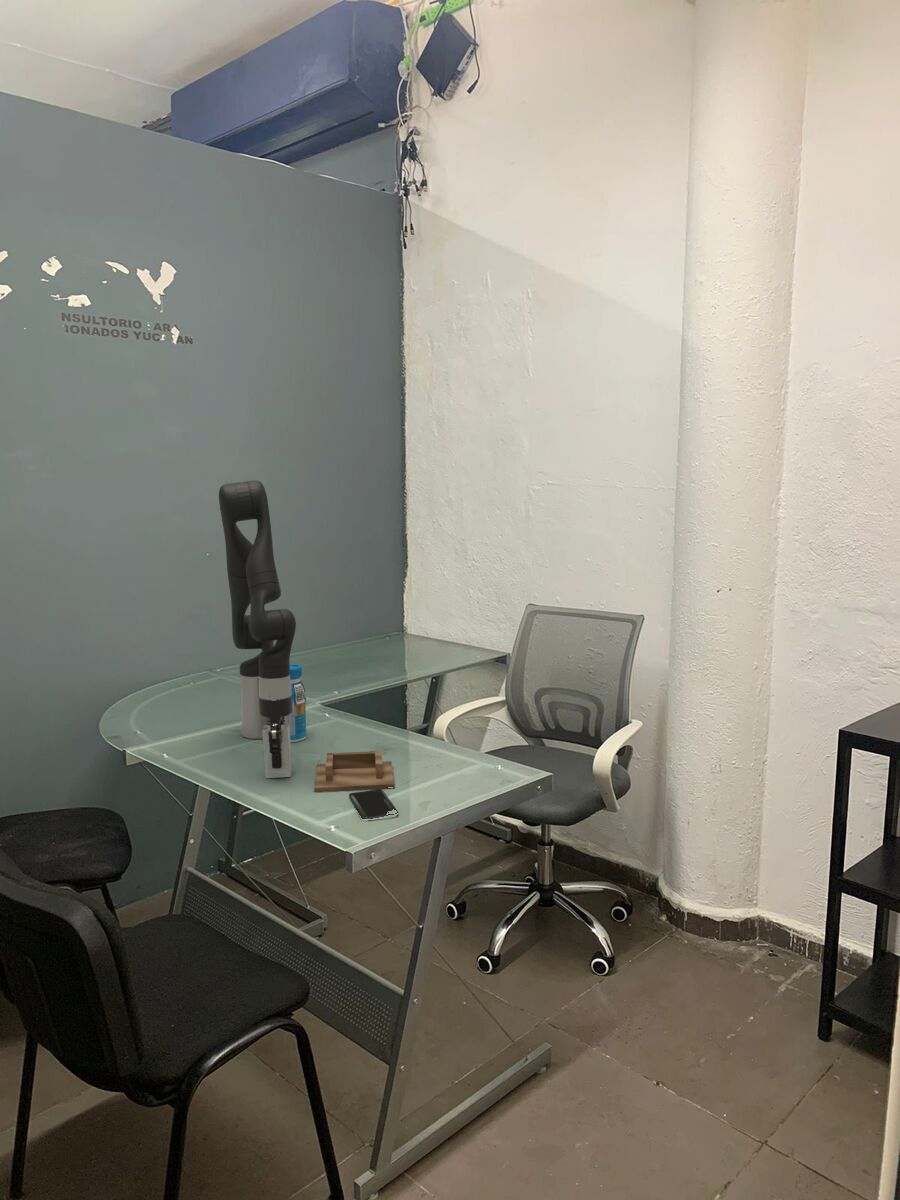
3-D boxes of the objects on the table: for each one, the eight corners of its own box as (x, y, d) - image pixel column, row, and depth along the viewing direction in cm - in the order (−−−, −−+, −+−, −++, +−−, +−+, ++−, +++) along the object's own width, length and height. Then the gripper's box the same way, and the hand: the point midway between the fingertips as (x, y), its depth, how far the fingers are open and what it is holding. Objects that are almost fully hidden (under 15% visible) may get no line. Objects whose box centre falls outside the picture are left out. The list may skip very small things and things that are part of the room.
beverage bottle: (276, 744, 229) (273, 670, 226) (274, 735, 237) (271, 664, 234) (308, 741, 231) (306, 668, 228) (305, 732, 239) (303, 662, 236)
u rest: (317, 768, 210) (316, 750, 210) (391, 765, 212) (391, 747, 212) (314, 792, 195) (313, 772, 194) (394, 788, 197) (394, 769, 196)
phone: (362, 818, 178) (347, 793, 192) (363, 823, 178) (348, 798, 192) (399, 813, 180) (382, 788, 194) (400, 818, 180) (382, 793, 194)
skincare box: (292, 771, 208) (290, 723, 206) (290, 778, 204) (289, 728, 202) (266, 772, 207) (264, 723, 206) (264, 779, 203) (262, 729, 201)
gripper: (262, 687, 209) (264, 755, 212) (255, 702, 195) (258, 775, 198) (293, 686, 210) (296, 754, 213) (289, 701, 196) (291, 774, 198)
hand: (277, 764), depth 205 cm, fingers closed on skincare box, 4 cm apart
